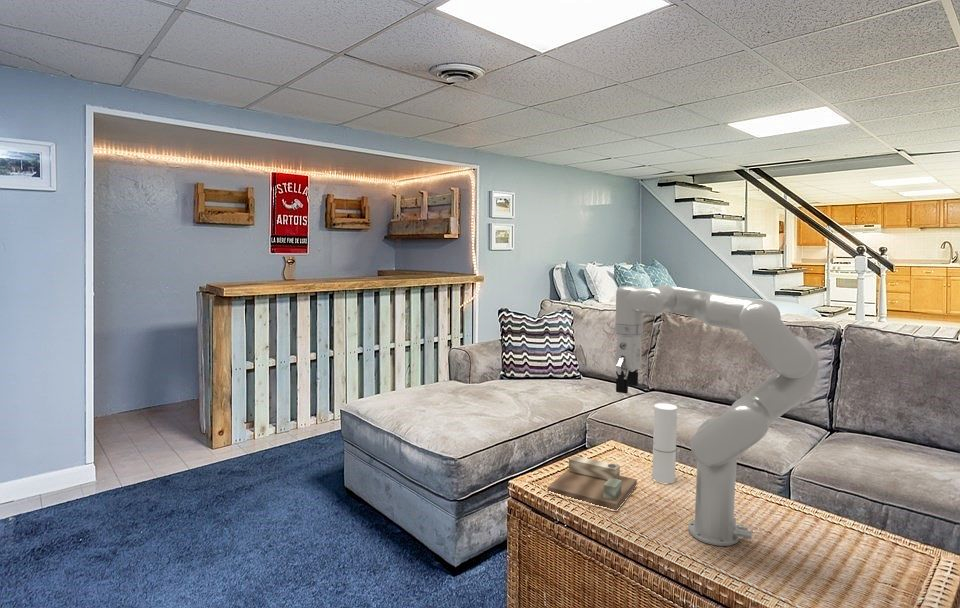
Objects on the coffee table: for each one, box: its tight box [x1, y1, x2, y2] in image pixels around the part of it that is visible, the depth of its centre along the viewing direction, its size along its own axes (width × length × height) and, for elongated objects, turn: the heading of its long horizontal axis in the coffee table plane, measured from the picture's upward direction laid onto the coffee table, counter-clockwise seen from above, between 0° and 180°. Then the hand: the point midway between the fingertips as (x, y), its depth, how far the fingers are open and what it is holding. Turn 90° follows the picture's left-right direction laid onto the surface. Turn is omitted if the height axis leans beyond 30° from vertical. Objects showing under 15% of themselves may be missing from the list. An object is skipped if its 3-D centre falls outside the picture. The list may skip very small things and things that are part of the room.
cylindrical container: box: [651, 402, 678, 483], centre depth 179 cm, size 7×7×25 cm
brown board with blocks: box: [547, 468, 638, 510], centre depth 172 cm, size 22×20×6 cm
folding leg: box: [568, 455, 621, 480], centre depth 178 cm, size 16×4×4 cm, turn 58°
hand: (627, 388), depth 155 cm, fingers open, 9 cm apart
